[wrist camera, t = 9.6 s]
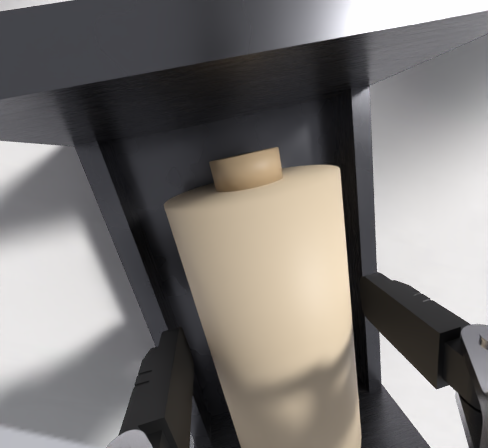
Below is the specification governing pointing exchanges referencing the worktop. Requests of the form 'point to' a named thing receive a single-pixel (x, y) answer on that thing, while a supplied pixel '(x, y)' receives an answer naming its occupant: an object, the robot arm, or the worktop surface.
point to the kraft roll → (274, 298)
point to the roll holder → (220, 132)
